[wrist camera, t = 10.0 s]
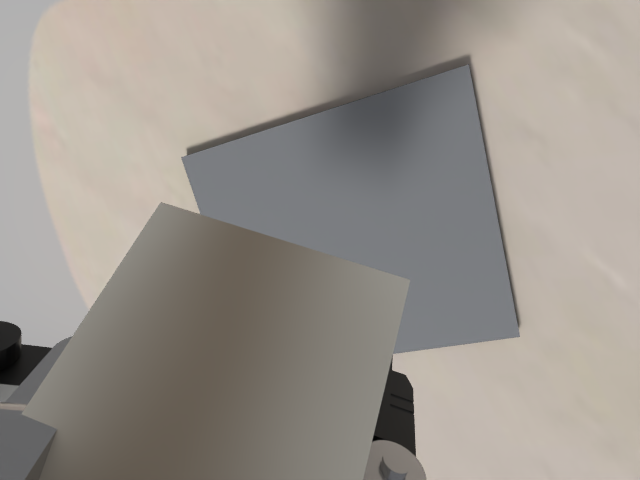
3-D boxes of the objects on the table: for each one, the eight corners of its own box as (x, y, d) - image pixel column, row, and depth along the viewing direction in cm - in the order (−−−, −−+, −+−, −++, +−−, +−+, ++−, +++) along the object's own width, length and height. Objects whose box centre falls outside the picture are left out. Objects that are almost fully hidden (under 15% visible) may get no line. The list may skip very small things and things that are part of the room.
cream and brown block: (353, 373, 15) (410, 279, 7) (314, 514, 13) (320, 654, 4) (241, 334, 16) (160, 202, 7) (185, 461, 14) (-31, 492, 5)
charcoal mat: (466, 66, 20) (468, 64, 20) (517, 332, 23) (519, 336, 23) (186, 156, 25) (181, 157, 25) (257, 367, 28) (254, 372, 28)
